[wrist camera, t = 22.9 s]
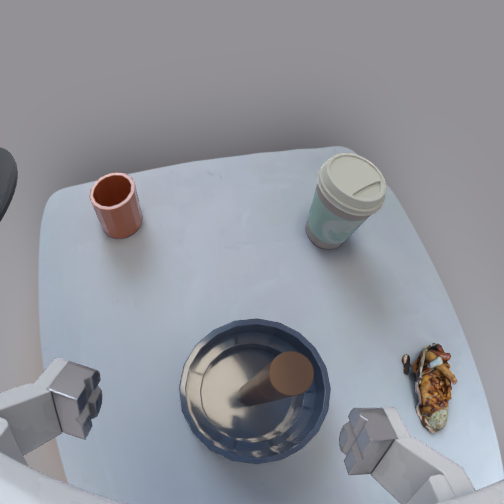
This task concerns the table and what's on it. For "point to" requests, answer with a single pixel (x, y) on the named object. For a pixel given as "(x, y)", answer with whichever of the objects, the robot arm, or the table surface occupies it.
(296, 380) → the brown wooden rod
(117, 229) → the crock
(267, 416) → the bowl
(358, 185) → the coffee cup
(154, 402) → the table surface
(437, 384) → the loaded food tray
